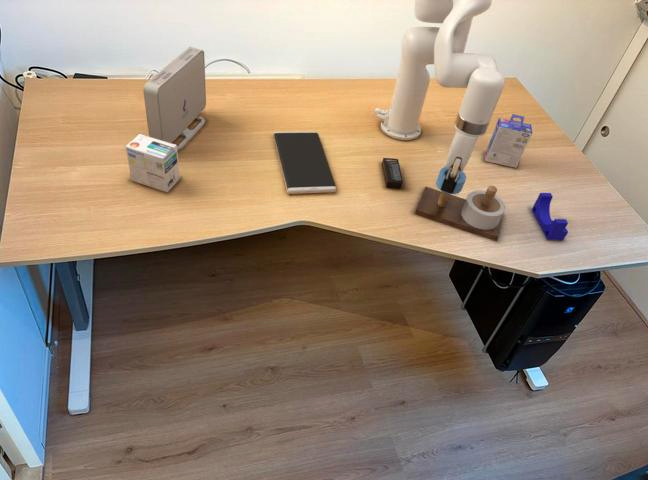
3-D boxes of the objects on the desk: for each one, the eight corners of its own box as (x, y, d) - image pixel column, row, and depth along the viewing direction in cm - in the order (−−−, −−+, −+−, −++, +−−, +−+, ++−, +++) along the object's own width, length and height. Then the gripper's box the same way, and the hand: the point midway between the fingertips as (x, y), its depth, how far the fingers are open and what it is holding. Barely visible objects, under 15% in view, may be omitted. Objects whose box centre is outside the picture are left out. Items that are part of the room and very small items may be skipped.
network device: (171, 159, 148) (164, 92, 133) (142, 150, 149) (132, 82, 135) (213, 114, 165) (211, 50, 150) (187, 106, 166) (182, 42, 152)
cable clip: (563, 240, 144) (573, 223, 140) (547, 239, 144) (557, 222, 139) (546, 210, 152) (555, 193, 148) (531, 209, 152) (540, 192, 147)
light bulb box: (180, 178, 143) (178, 144, 135) (167, 193, 139) (164, 158, 131) (144, 167, 145) (139, 132, 137) (130, 181, 140) (124, 145, 132)
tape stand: (414, 213, 145) (425, 180, 136) (424, 190, 152) (435, 157, 144) (496, 241, 141) (512, 208, 133) (502, 215, 148) (517, 183, 140)
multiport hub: (386, 188, 150) (387, 181, 149) (381, 164, 158) (382, 157, 156) (401, 189, 151) (403, 182, 149) (396, 165, 158) (398, 158, 157)
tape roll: (433, 189, 140) (437, 177, 137) (438, 174, 144) (442, 163, 142) (459, 197, 139) (463, 186, 136) (463, 182, 143) (468, 171, 140)
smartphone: (317, 135, 164) (317, 130, 163) (336, 193, 146) (337, 188, 145) (273, 136, 161) (273, 131, 160) (287, 195, 144) (288, 190, 142)
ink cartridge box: (516, 158, 168) (535, 116, 157) (517, 168, 164) (536, 127, 154) (484, 151, 169) (501, 109, 158) (484, 161, 165) (502, 119, 154)
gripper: (462, 101, 134) (442, 161, 147) (449, 136, 123) (428, 197, 136) (492, 110, 133) (469, 169, 146) (481, 146, 121) (457, 207, 134)
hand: (449, 182), depth 141 cm, fingers closed on tape roll, 6 cm apart
